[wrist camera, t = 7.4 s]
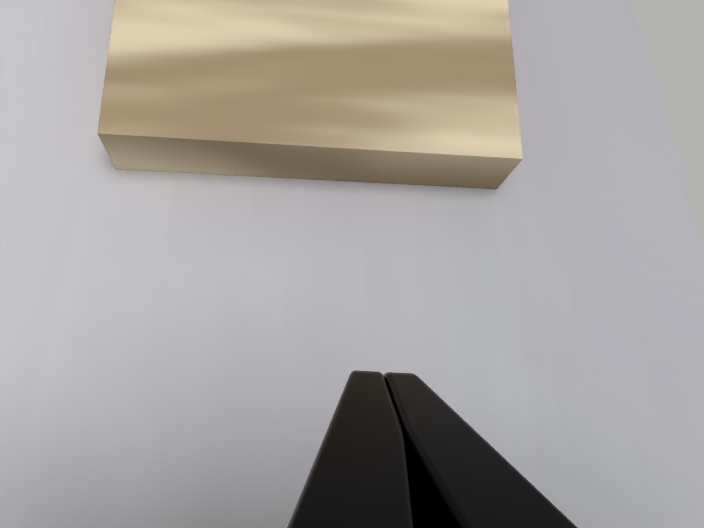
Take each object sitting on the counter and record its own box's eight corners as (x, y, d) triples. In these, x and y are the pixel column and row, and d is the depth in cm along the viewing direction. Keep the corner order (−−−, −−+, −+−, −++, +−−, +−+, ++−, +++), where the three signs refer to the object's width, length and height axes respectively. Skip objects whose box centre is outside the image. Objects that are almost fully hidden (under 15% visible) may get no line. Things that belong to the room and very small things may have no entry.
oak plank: (522, 158, 21) (504, -31, 23) (97, 133, 19) (124, -69, 22) (492, 193, 24) (479, 21, 26) (119, 174, 22) (140, -9, 25)
